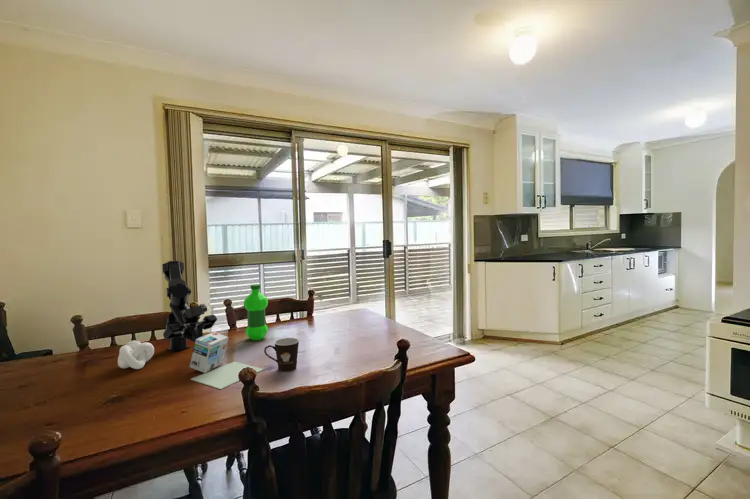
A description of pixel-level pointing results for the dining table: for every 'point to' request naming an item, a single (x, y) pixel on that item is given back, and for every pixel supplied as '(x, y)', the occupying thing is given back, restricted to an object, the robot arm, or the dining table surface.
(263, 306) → the plastic bottle
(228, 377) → the mat
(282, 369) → the coffee mug
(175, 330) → the robot arm
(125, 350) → the white decorative knot
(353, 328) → the dining table surface
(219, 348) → the light bulb box
